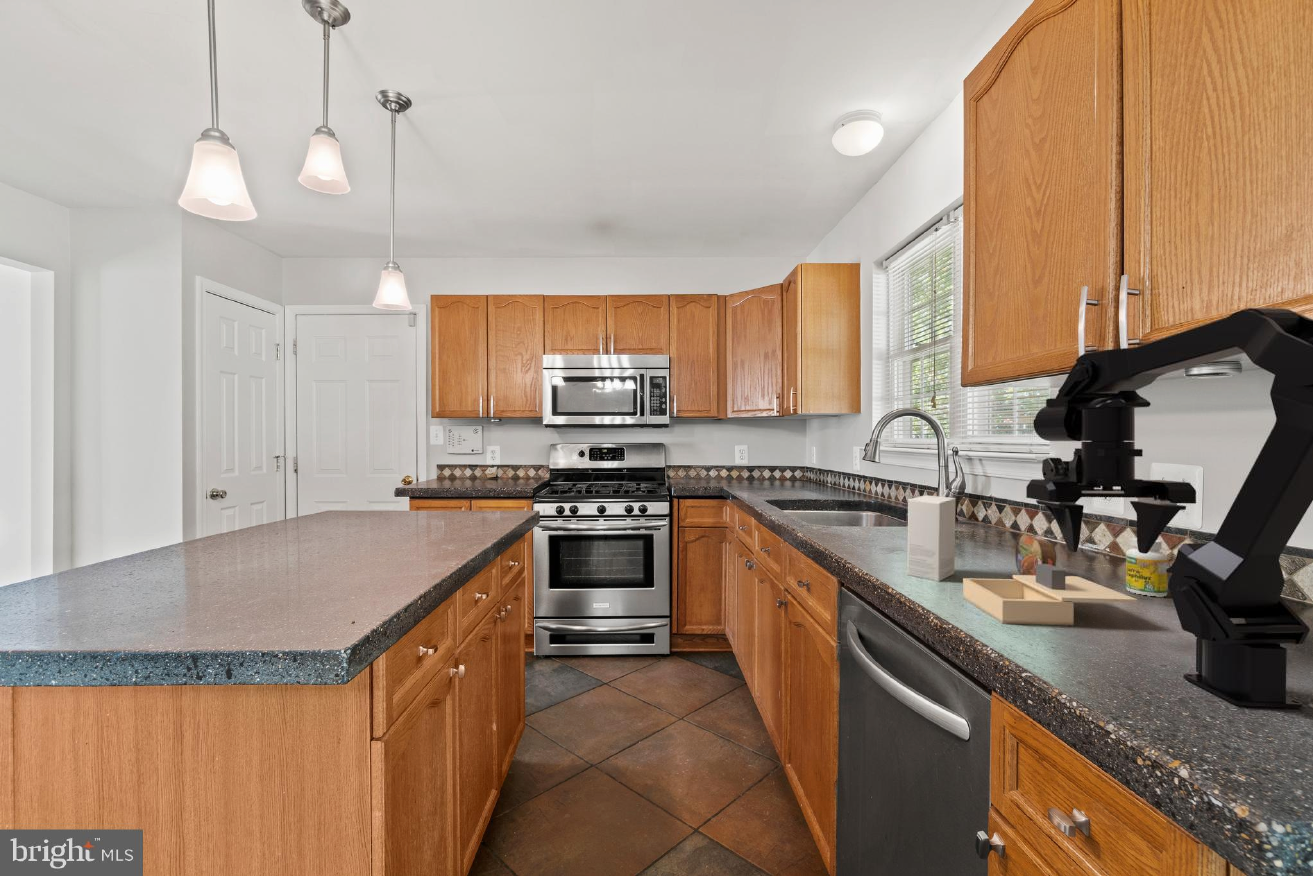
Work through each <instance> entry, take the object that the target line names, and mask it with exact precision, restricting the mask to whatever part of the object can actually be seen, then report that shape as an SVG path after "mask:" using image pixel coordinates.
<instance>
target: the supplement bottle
mask: <svg viewBox="0 0 1313 876" xmlns="http://www.w3.org/2000/svg"><path fill="white" fill-rule="evenodd" d="M1130 545H1131V546H1132V548H1130V549H1127V551H1126V553H1125V558H1126V559H1125V560H1126V561H1125V566H1126V567H1125V570H1126V571H1125V583H1126V584H1125V587H1126V590H1127V591H1128V592H1129V591H1130V592H1129V593H1131V594H1134V593H1136V594H1135V595H1138V594H1142V595H1141V596H1143V595H1147V596H1146V597H1150V596H1156V597H1155V598H1164V596H1165V597H1166V596H1167V595H1168V572H1166V570H1167V569H1168V557H1167V555H1166V553H1164V552H1162V551H1160V550H1162V548H1163V547H1162V540H1160V539H1157V540H1156V542H1155V543H1154V544H1153V546H1152V547H1151V549H1150V550H1149V552H1148V553H1147V554H1143V553H1140V552H1139V551H1138V545H1137V537H1131V538H1130Z"/></svg>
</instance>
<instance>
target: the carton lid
mask: <svg viewBox="0 0 1313 876" xmlns="http://www.w3.org/2000/svg"><path fill="white" fill-rule="evenodd" d="M1012 579H1016V580H1018V581H1020V582H1023V583H1025V584H1027V585H1029V586H1031V587H1033V588H1035V589H1037V590H1040V591H1042V592H1044V593H1046V594H1048V595H1050V596H1052V597H1054V598H1057V599H1059V600H1061V601H1072V602H1082V603H1083V602H1084V603H1085V602H1087V603H1095V602H1096V603H1123V604H1125V603H1128V604H1131V603H1132V604H1138V599H1137V598H1134V597H1132V596H1129V595H1127V594H1124V593H1122V592H1119V591H1117V590H1113V589H1111V588H1108V587H1106V586H1103V585H1101V584H1098V583H1095V582H1093V581H1090V580H1087V579H1086V578H1082V577H1081V576H1075V575H1066V570H1065V569H1063V568H1060V567H1057V566H1056V567H1055V566H1052V565H1050V564H1036V575H1021V574H1012Z"/></svg>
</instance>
